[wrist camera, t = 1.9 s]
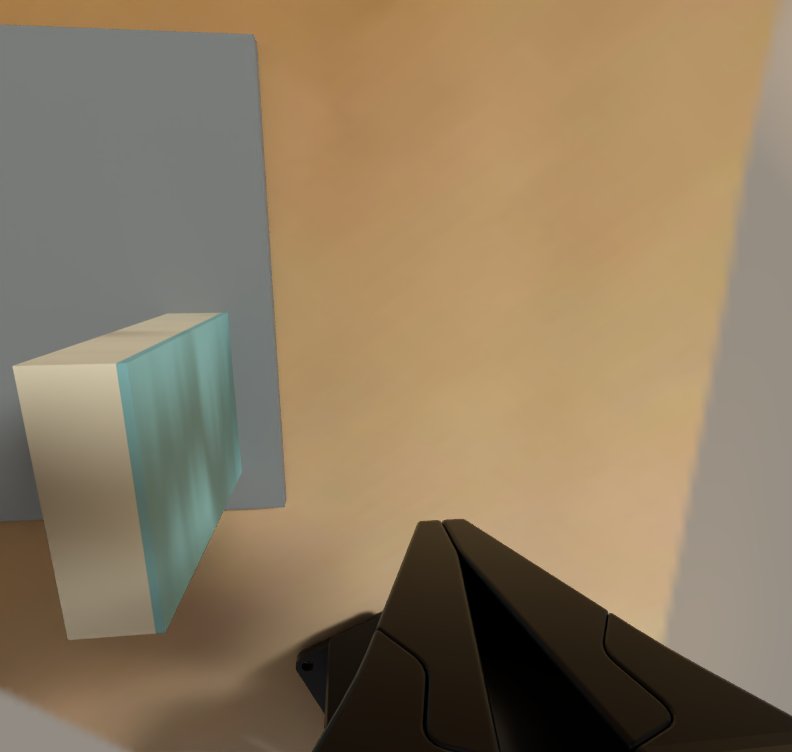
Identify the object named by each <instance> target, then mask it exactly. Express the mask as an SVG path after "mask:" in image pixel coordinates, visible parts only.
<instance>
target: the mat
mask: <svg viewBox="0 0 792 752" xmlns="http://www.w3.org/2000/svg"><path fill="white" fill-rule="evenodd" d="M168 313H228V321H229V332H230V343H231V355H232V366H233V378H234V389H235V400H236V412H237V423H238V434H239V446H240V457H241V469H242V473H241V475H240V477H239V479H238V482H237V484H236V486H235V488H234V490H233V492H232V494H231V496H230V498H229V500H228V503H227V505H226V507H225V509H224V510H239V509H258V508H277V507H285V503H286V488H285V472H284V457H283V441H282V426H281V410H280V395H279V379H278V364H277V348H276V333H275V317H274V302H273V286H272V271H271V255H270V240H269V224H268V209H267V193H266V178H265V162H264V147H263V131H262V116H261V100H260V85H259V69H258V54H257V42H256V40H255V37H254V35H253V34H228V33H202V32H176V31H150V30H124V29H99V28H73V27H47V26H21V25H0V522H8V521H27V520H43V515H42V510H41V505H40V500H39V495H38V490H37V485H36V480H35V475H34V470H33V465H32V460H31V456H30V451H29V446H28V441H27V436H26V431H25V426H24V421H23V416H22V411H21V406H20V401H19V396H18V391H17V386H16V381H15V376H14V371H13V366H14V365H17V364H20V363H23V362H26V361H29V360H31V359H34V358H37V357H40V356H43V355H46V354H49V353H52V352H55V351H58V350H61V349H64V348H67V347H70V346H73V345H76V344H79V343H82V342H85V341H88V340H91V339H94V338H97V337H100V336H103V335H105V334H108V333H111V332H114V331H117V330H120V329H123V328H126V327H129V326H132V325H135V324H138V323H141V322H144V321H147V320H150V319H153V318H156V317H159V316H162V315H165V314H168Z"/></svg>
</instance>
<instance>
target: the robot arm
mask: <svg viewBox="0 0 792 752" xmlns="http://www.w3.org/2000/svg"><path fill="white" fill-rule="evenodd" d="M307 661H309V662H312V663H309V664H307V663H304V662H307ZM296 670H297V672H298V673H299V675H300V677H301V678H302V680H303V681H304V683H305V684H306V686H307V687H308V689H309V690H310V692H311V694H312V695H313V697H314V698H315V700H316V701H317V703H318V704H319V706H320V708H321V709H322V711H323V712H324V714H325V724H324V728H325V730H324V732H323V734H322V735H321V737H320V739H319V740H318V742H317V744H316V745H315V747H314V749H313V750H312V752H792V716H791V715H789V714H787V713H786V712H784V711H782V710H780V709H778V708H776V707H774V706H773V705H771V704H769V703H767V702H765V701H764V700H762V699H760V698H758V697H756V696H754V695H753V694H751V693H749V692H747V691H745V690H743V689H741V688H740V687H738V686H735V685H734V684H732V683H730V682H729V681H727V680H725V679H723V678H721V677H719V676H718V675H716V674H714V673H712V672H710V671H708V670H706V669H705V668H703V667H701V666H699V665H697V664H696V663H694V662H692V661H691V660H689V659H687V658H685V657H683V656H682V655H680V654H678V653H676V652H675V651H673V650H671V649H669V648H667V647H666V646H664V645H662V644H661V643H659V642H657V641H656V640H654V639H653V638H651V637H649V636H648V635H646V634H644V633H643V632H641V631H639V630H638V629H636V628H635V627H633V626H631V625H630V624H628V623H627V622H625V621H623V620H622V619H620V618H619V617H617V616H616V615H614V614H612V613H609V614H608V611H607V610H606V609H604V608H603V607H601V606H600V605H598V604H597V603H595V602H593V601H592V600H590V599H589V598H587V597H586V596H584V595H582V594H581V593H579V592H578V591H576V590H575V589H573V588H571V587H570V586H568V585H567V584H565V583H564V582H562V581H560V580H559V579H557V578H556V577H554V576H553V575H551V574H549V573H548V572H546V571H545V570H543V569H542V568H540V567H539V566H537V565H535V564H534V563H532V562H531V561H529V560H528V559H526V558H524V557H523V556H521V555H520V554H518V553H517V552H515V551H513V550H512V549H510V548H509V547H507V546H506V545H504V544H502V543H501V542H499V541H498V540H496V539H495V538H493V537H491V536H490V535H488V534H487V533H485V532H484V531H482V530H480V529H479V528H477V527H476V526H474V525H473V524H471V523H469V522H468V521H466V520H464V519H450V520H444V521H442V523H441V521H439V520H432V521H420V522H419V523H418V524H417V526H416V529H415V531H414V534H413V536H412V539H411V542H410V544H409V547H408V549H407V552H406V554H405V557H404V559H403V562H402V564H401V567H400V569H399V572H398V574H397V577H396V580H395V582H394V585H393V587H392V590H391V592H390V595H389V597H388V600H387V602H386V605H385V607H384V610H383V612H382V615H380V616H378V617H375V618H373V619H371V620H369V621H367V622H364V623H362V624H360V625H358V626H356V627H353V628H351V629H349V630H347V631H345V632H342V633H340V634H338V635H336V636H334V637H331V638H329V639H327V640H325V641H323V642H320V643H318V644H316V645H314V646H312V647H309V648H307V649H305V650H303V651H302V652H300V653H299V654H298V656H297V662H296Z"/></svg>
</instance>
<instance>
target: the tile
mask: <svg viewBox="0 0 792 752" xmlns="http://www.w3.org/2000/svg"><path fill="white" fill-rule="evenodd" d="M13 371H14V376H15V381H16V386H17V391H18V396H19V401H20V406H21V411H22V416H23V421H24V426H25V431H26V436H27V441H28V446H29V451H30V456H31V460H32V465H33V470H34V475H35V480H36V485H37V490H38V495H39V500H40V505H41V510H42V515H43V520H44V525H45V530H46V535H47V540H48V545H49V550H50V555H51V559H52V564H53V569H54V574H55V579H56V584H57V589H58V594H59V599H60V604H61V609H62V614H63V619H64V624H65V629H66V634H67V639H68V640H78V639H91V638H104V637H118V636H131V635H145V634H158V633H166V631H167V629H168V626H169V624H170V622H171V620H172V618H173V616H174V614H175V612H176V610H177V608H178V605H179V603H180V601H181V599H182V597H183V595H184V593H185V591H186V589H187V587H188V584H189V582H190V580H191V578H192V576H193V574H194V572H195V570H196V568H197V566H198V563H199V561H200V559H201V557H202V555H203V553H204V551H205V549H206V547H207V545H208V542H209V540H210V538H211V536H212V534H213V532H214V530H215V528H216V526H217V524H218V521H219V519H220V517H221V515H222V513H223V511H224V509H225V507H226V505H227V503H228V500H229V498H230V496H231V494H232V492H233V490H234V488H235V486H236V484H237V482H238V479H239V477H240V475H241V473H242V469H241V457H240V446H239V434H238V423H237V412H236V400H235V389H234V378H233V366H232V355H231V343H230V332H229V321H228V313H168V314H165V315H162V316H159V317H156V318H153V319H150V320H147V321H144V322H141V323H138V324H135V325H132V326H129V327H126V328H123V329H120V330H117V331H114V332H111V333H108V334H105V335H103V336H100V337H97V338H94V339H91V340H88V341H85V342H82V343H79V344H76V345H73V346H70V347H67V348H64V349H61V350H58V351H55V352H52V353H49V354H46V355H43V356H40V357H37V358H34V359H31V360H29V361H26V362H23V363H20V364H17V365H14V366H13Z"/></svg>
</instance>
